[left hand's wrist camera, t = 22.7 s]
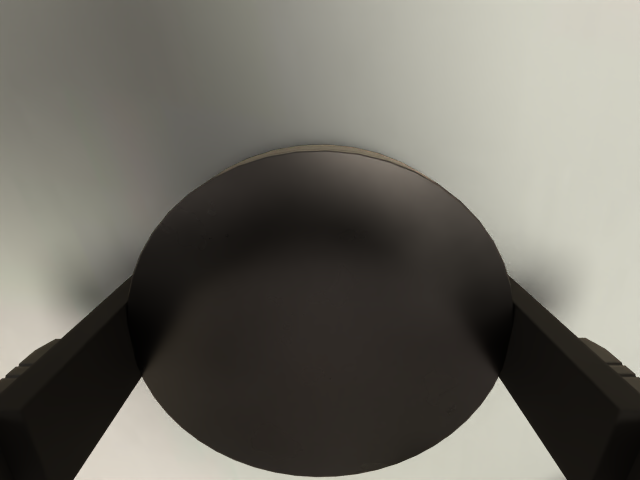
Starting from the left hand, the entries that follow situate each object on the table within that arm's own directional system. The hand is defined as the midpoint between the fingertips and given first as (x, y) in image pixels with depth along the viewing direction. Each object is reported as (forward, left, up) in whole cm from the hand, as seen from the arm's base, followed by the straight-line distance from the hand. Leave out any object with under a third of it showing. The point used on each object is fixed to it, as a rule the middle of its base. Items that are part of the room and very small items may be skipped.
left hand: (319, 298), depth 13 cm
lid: (0, 0, +2) cm, 2 cm away
